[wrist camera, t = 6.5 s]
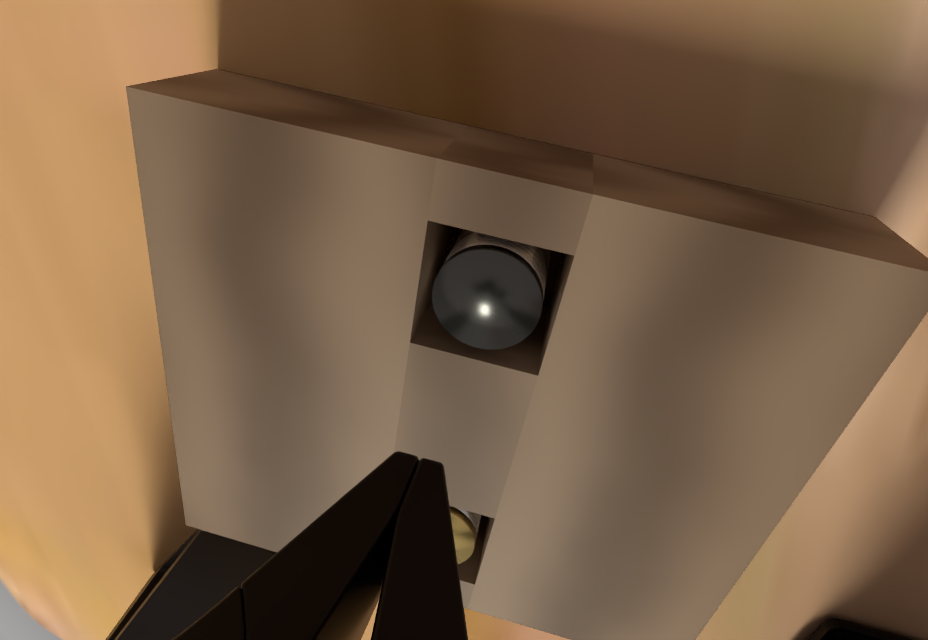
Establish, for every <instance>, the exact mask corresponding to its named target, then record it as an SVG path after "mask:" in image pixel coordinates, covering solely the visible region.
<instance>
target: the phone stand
mask: <svg viewBox="0 0 928 640" xmlns="http://www.w3.org/2000/svg"><path fill="white" fill-rule="evenodd" d="M276 553H277V552H274V551H271V550H267V549H264V548H261V547H257V546H254V545H251V544H247V543H244V542H240V541H237V540H234V539H230V538H227V537H224V536H220V535H217V534H213V533H210V532H207V531H203V530H200V529H197V530H196V531H195V532H194V533H193V534H192V535H191V536H190V537H189V538H188V539H187V540H186V541H185V543H184V544H182V545H181V546H180V547H179V548H178V549H177V550H176V551H175V552H174V553H173V554H172V555H171V556H170V557H169V558H168V559H167V560H166V561H165V562H164V563H163V564H162V565H161V566H160V567H159V568H158V569H157V570H156V571H155V573H154V574H153V575H152V576H151V577H150V579H149V580H148V581H147V583H146V584H145V586H144V587H143V588H142V590H141V591H140V593H139V594H138V595H137V597H136V598H135V600H134V601H133V602H132V604H131V605H130V606H129V608H128V609H127V611H126V612H125V613H124V615H123V616H122V618H121V619H120V620H119V622H118V623H117V625H116V626H115V627H114V629H113V630H112V631H111V633H110V634H109V636H108V637H107V638H106V640H172V639H174V638H175V637H176V636H178V635H179V634H180V633H182V632H183V631H184V630H186V629H187V628H188V627H189V626H190V625H192V624H193V623H194V622H195V621H197V620H198V619H199V618H200V617H202V616H203V615H204V614H205V613H206V612H208V611H209V610H210V609H211V608H213V607H214V606H215V605H216V604H217V603H219V602H220V601H221V600H222V599H223V598H224V597H226V596H227V595H228V594H229V593H230V592H231V591H233V590H234V589H235V588H236V587H241V584H242V582H243V581H245V580H246V579H247V578H248V577H249V576H250V575H252V574H253V573H254V572H255V571H256V570H257V569H259V568H260V567H261V566H262V565H263V564H264V563H266V562H267V561H268V560H269V559H270V558H271V557H273V556H274V555H275V554H276Z"/></svg>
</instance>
